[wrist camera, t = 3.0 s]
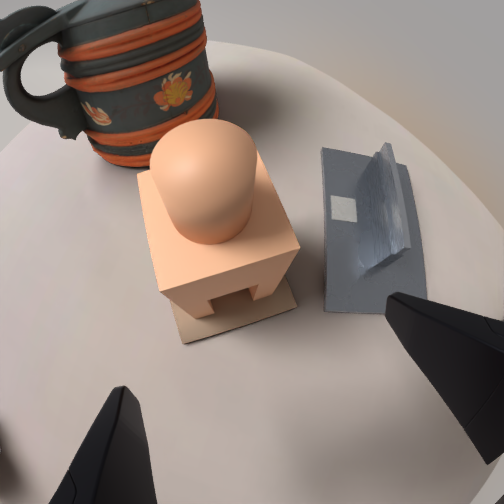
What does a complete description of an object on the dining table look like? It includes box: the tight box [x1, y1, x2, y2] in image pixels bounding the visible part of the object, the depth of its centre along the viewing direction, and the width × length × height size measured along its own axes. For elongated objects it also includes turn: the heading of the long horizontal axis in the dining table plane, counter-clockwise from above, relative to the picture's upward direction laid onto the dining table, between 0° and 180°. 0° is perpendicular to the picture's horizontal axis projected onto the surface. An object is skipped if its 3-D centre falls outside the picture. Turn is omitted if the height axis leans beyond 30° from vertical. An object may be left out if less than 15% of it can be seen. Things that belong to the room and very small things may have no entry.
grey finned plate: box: [321, 142, 427, 314], centre depth 22 cm, size 16×10×5 cm, turn 175°
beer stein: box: [0, 0, 219, 167], centre depth 17 cm, size 19×15×20 cm
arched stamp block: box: [137, 119, 300, 319], centre depth 15 cm, size 6×6×14 cm
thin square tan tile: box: [170, 274, 297, 344], centre depth 22 cm, size 9×9×1 cm
